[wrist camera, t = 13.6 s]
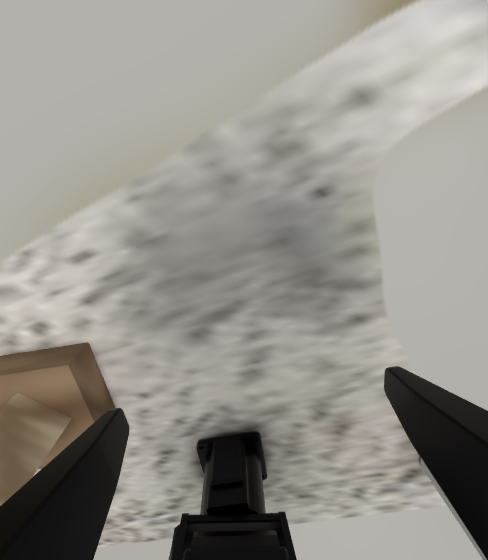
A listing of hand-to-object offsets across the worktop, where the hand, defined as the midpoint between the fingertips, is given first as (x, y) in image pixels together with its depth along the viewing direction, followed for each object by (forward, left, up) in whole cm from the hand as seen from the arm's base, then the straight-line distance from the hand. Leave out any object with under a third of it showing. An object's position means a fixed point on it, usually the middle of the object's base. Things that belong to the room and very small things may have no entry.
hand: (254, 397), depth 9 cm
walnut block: (-9, +19, -14) cm, 25 cm away
